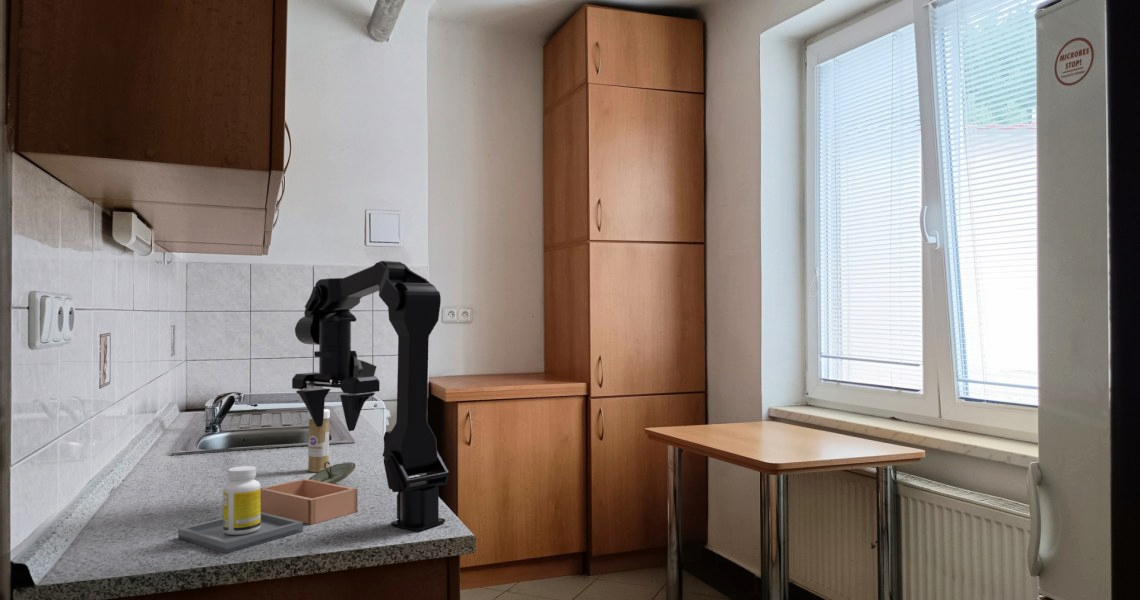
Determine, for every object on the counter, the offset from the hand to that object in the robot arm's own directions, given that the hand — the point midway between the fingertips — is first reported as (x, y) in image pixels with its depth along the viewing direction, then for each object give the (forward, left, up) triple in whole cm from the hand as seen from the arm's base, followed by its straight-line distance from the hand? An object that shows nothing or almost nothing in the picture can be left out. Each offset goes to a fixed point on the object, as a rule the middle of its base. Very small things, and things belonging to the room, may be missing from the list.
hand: (335, 428), depth 142 cm
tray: (-7, +24, -13) cm, 28 cm away
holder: (-4, +9, -13) cm, 16 cm away
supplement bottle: (-7, +23, -13) cm, 27 cm away
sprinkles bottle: (+23, -14, -13) cm, 30 cm away
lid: (+9, -6, -13) cm, 17 cm away
